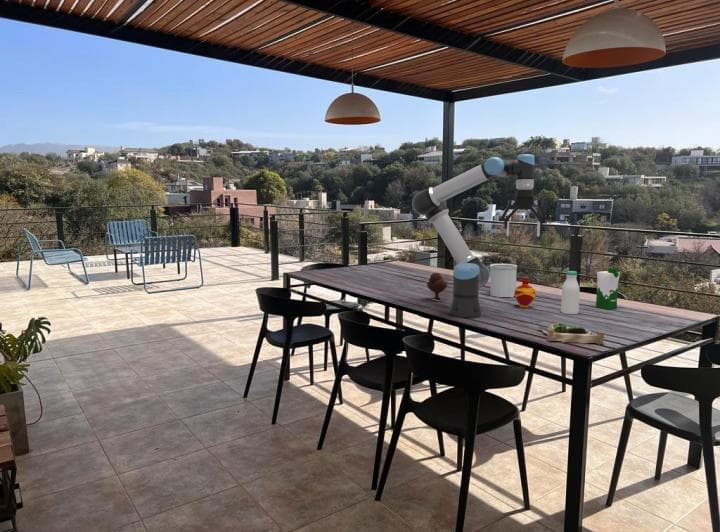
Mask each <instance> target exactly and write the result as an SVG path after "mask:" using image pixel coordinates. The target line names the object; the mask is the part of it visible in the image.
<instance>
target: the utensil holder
mask: <svg viewBox="0 0 720 532" xmlns="http://www.w3.org/2000/svg"><path fill="white" fill-rule="evenodd" d="M517 268H518V265H517V264H510V263H491V264H489V272H490V277H489V290H490V291H489V295H490V296H491V295H492V296H491V297H493V296H497V297H496V298H499V297H511V298H515V297H514V295H515V294H514V293H515V289H516V288H517Z"/></svg>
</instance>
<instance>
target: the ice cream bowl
mask: <svg viewBox="0 0 720 532" xmlns="http://www.w3.org/2000/svg"><path fill="white" fill-rule="evenodd" d="M426 286H427V288H428V289H429V291H431V292H433V293H434V294H435V295H434V297H432V299H436V300H440V299H442V298H441V297H439V294H440V293H441V292H443V291H444V290H445V289H446V288H447V286H448V282H446V281H445V280H444V278H443V276H442V274H440V273H439V272H433V273H431V275H430V277H429V279H428V281H427V282H426Z"/></svg>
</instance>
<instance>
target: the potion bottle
mask: <svg viewBox="0 0 720 532" xmlns="http://www.w3.org/2000/svg"><path fill="white" fill-rule="evenodd" d="M520 278H521V280H520V282H522V284H520V285H517V286H516V289H515V293H514V294H515V295H514V296H515V297H514V298H515V300H516V301H517V303H518V304H519V305H518V307H519V306H520V307H519V308H522V307H523V308H524V309H529V308H530V305H531V303H532V302H533V301H534V300H535V299H536V297H537V294H536V292H537V290H536V289H535V287H533V286H531V285H529V283H530V282H531V280H530V278H531V277H529V276H521V277H520ZM523 308H522V309H523Z"/></svg>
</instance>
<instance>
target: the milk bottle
mask: <svg viewBox="0 0 720 532" xmlns="http://www.w3.org/2000/svg"><path fill="white" fill-rule="evenodd" d="M565 274H566V275H565V276H566V279H565V281H564V282H563V286H562V288H561V304H560V312H561V313H562V314H566V315H578V314H579V310H580V307H579V306H580V286H579V283H578V280H577V277H578V272H577V271H576V270H567V271H566V273H565Z"/></svg>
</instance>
